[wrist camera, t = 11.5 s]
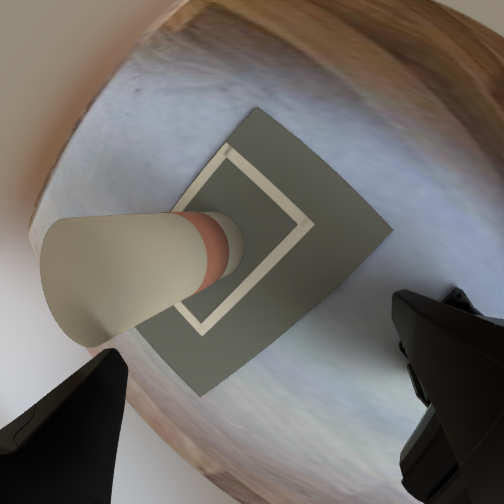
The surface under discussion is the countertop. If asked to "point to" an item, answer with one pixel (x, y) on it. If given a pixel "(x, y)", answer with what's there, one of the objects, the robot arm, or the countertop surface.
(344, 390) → the countertop surface
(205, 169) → the mat
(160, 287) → the player figure
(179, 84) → the countertop surface
